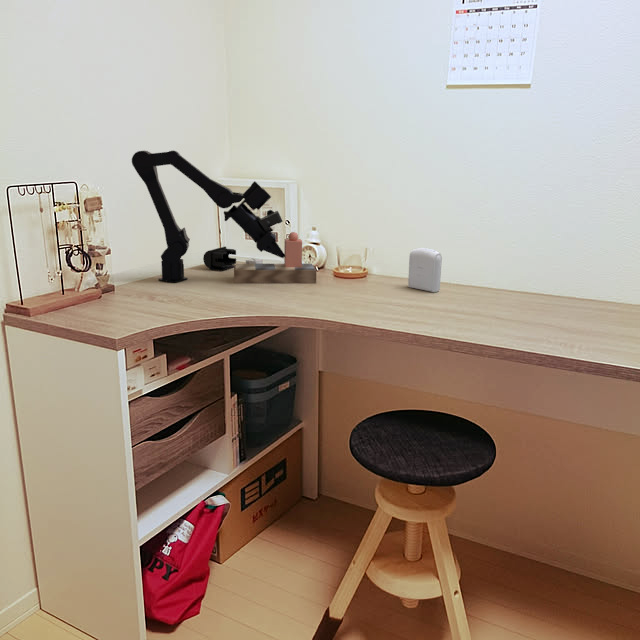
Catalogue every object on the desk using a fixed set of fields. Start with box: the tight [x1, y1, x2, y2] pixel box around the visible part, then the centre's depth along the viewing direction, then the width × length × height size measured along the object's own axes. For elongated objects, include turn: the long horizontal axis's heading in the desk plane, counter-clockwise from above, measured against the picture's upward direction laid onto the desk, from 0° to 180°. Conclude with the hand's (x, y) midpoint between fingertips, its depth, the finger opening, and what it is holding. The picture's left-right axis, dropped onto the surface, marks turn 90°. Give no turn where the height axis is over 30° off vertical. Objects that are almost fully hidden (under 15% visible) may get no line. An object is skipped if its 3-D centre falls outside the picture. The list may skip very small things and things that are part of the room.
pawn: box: [283, 231, 303, 267], centre depth 200 cm, size 5×5×10 cm
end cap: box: [202, 246, 237, 272], centre depth 218 cm, size 10×7×7 cm
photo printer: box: [407, 247, 443, 293], centre depth 193 cm, size 10×4×12 cm, turn 44°
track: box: [233, 262, 317, 284], centre depth 201 cm, size 25×9×4 cm, turn 97°
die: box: [245, 257, 264, 264], centre depth 213 cm, size 4×4×4 cm
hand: (284, 256), depth 200 cm, fingers closed
